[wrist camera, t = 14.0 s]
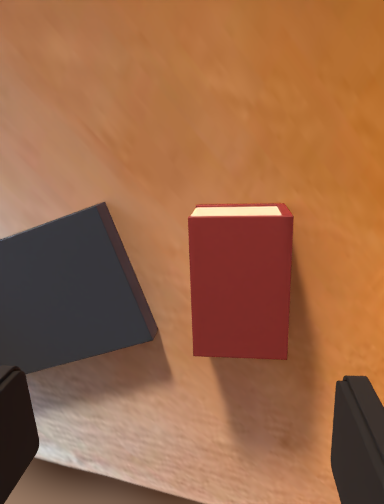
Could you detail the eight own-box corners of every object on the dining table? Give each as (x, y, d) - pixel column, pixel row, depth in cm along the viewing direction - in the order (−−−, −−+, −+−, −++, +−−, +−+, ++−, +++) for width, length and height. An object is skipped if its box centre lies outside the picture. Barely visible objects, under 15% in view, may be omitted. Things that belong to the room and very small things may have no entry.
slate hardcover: (104, 201, 30) (95, 205, 28) (158, 328, 33) (153, 340, 31) (-51, 258, 33) (-69, 265, 31) (9, 369, 36) (-4, 381, 34)
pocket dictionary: (284, 203, 28) (293, 216, 23) (279, 326, 31) (287, 360, 26) (196, 204, 29) (187, 217, 24) (200, 324, 32) (193, 356, 27)
